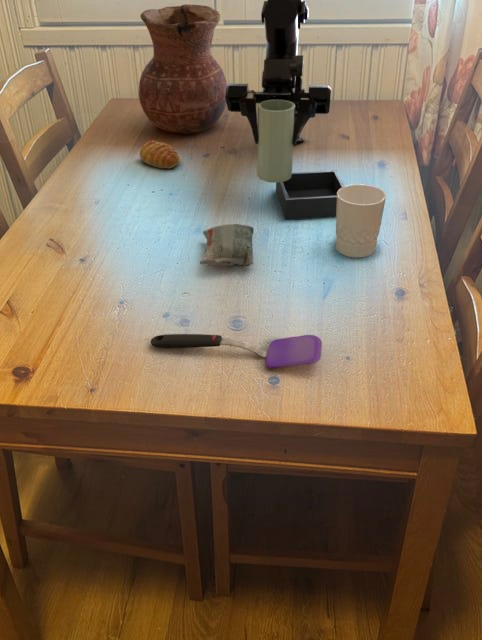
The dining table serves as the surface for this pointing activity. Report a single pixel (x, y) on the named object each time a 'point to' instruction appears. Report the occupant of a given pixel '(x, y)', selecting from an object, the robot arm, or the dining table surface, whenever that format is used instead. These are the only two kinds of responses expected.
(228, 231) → the packaged food
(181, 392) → the dining table surface
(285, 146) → the tumbler
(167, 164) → the pastry
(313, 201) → the tub
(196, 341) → the spatula
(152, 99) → the jug
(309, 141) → the dining table surface
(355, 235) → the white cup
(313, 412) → the dining table surface
